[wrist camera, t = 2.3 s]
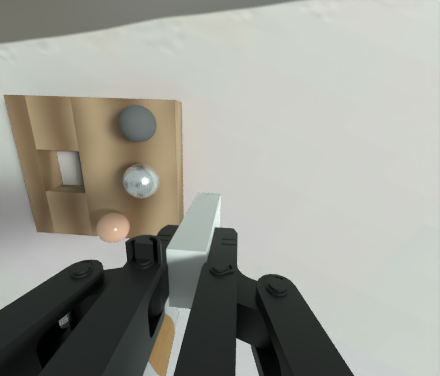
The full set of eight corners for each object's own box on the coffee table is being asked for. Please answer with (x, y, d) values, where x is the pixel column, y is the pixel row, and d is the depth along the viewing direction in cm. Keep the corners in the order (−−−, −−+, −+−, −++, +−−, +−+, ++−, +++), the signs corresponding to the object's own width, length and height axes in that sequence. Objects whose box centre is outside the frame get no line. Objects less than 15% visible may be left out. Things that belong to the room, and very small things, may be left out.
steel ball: (134, 191, 23) (117, 202, 20) (131, 159, 22) (113, 166, 19) (165, 192, 23) (153, 204, 20) (163, 161, 22) (151, 168, 19)
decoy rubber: (130, 139, 22) (113, 143, 19) (127, 105, 21) (108, 103, 18) (162, 141, 22) (149, 144, 19) (160, 106, 21) (147, 104, 18)
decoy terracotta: (109, 232, 25) (91, 247, 22) (105, 206, 24) (86, 219, 21) (136, 234, 25) (122, 250, 22) (133, 208, 24) (118, 221, 21)
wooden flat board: (53, 222, 28) (37, 231, 26) (26, 97, 24) (3, 94, 21) (183, 231, 27) (178, 241, 25) (181, 102, 23) (174, 100, 20)
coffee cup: (117, 295, 31) (17, 443, 17) (166, 274, 30) (100, 420, 15) (149, 335, 33) (83, 499, 19) (196, 319, 31) (163, 485, 17)
